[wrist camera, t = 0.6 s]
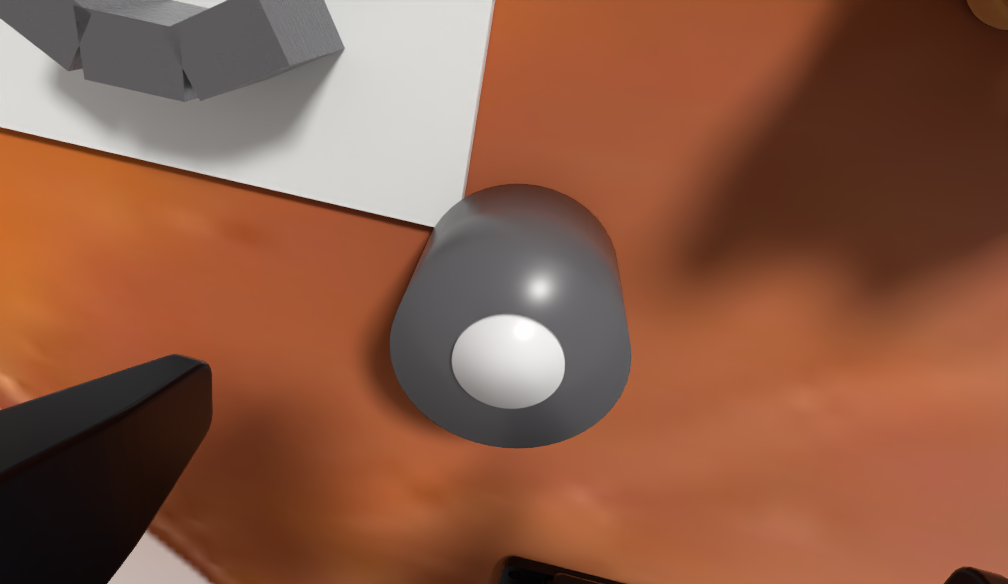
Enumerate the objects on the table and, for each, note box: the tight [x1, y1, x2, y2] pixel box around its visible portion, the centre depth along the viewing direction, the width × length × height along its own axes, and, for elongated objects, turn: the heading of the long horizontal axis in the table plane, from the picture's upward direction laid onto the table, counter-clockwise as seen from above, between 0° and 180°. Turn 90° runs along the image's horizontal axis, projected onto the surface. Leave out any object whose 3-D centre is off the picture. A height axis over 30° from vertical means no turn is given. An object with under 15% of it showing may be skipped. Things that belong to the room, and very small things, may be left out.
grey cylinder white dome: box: [390, 184, 631, 448], centre depth 16 cm, size 6×6×4 cm
